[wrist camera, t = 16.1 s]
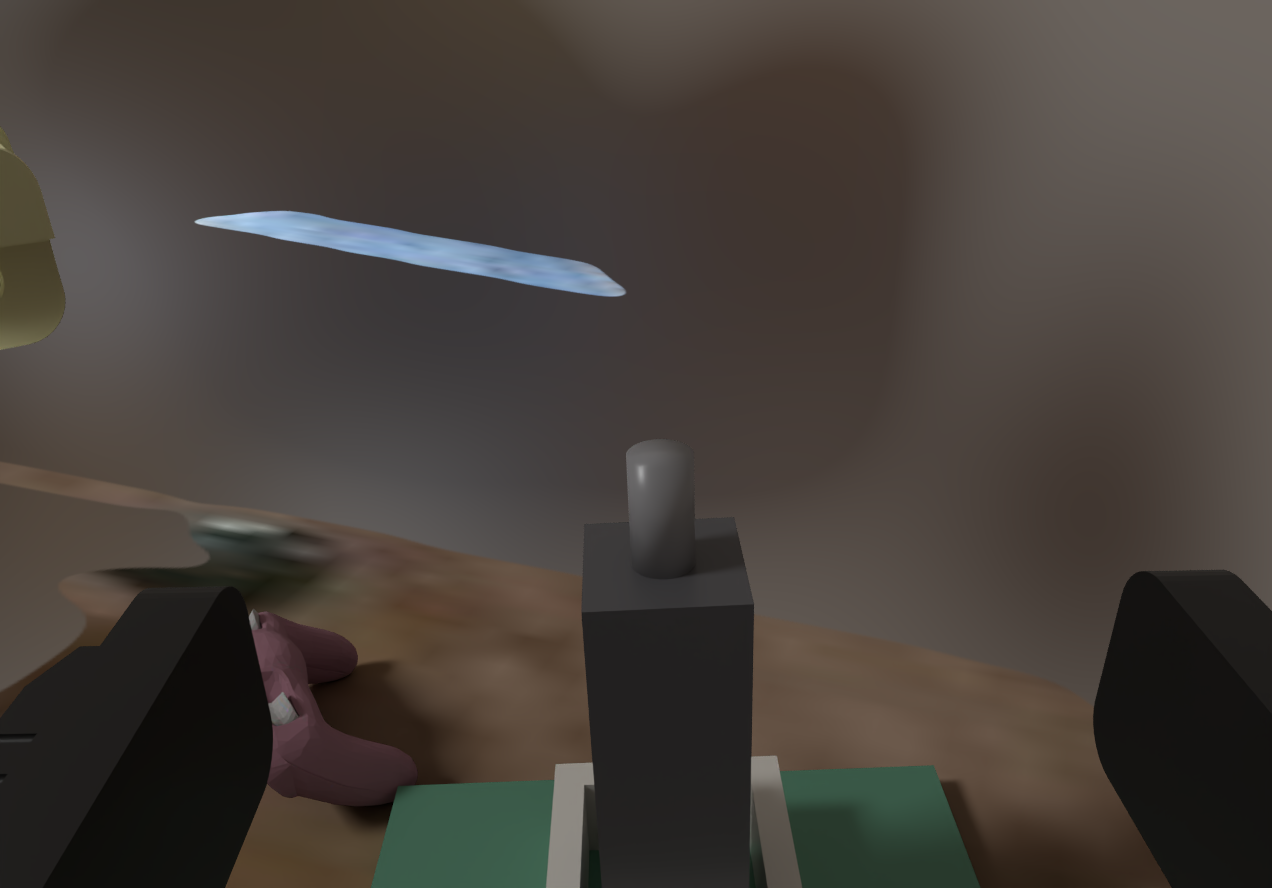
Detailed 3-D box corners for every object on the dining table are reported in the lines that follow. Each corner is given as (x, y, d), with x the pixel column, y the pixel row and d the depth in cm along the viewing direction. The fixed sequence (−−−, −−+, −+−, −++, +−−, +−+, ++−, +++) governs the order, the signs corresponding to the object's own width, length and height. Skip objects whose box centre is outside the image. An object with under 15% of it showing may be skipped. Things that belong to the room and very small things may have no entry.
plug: (610, 1006, 30) (572, 499, 22) (609, 872, 34) (578, 409, 26) (747, 999, 30) (756, 491, 22) (729, 866, 34) (731, 402, 26)
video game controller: (279, 716, 45) (171, 625, 41) (362, 649, 46) (264, 553, 42) (337, 870, 38) (211, 777, 34) (434, 786, 38) (323, 685, 34)
